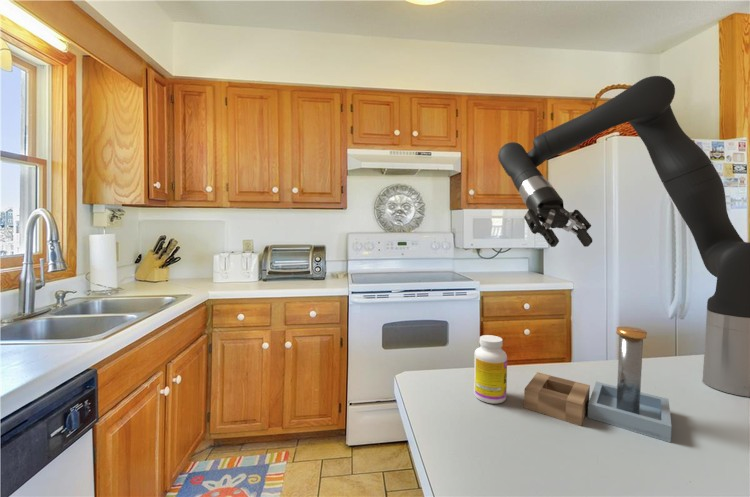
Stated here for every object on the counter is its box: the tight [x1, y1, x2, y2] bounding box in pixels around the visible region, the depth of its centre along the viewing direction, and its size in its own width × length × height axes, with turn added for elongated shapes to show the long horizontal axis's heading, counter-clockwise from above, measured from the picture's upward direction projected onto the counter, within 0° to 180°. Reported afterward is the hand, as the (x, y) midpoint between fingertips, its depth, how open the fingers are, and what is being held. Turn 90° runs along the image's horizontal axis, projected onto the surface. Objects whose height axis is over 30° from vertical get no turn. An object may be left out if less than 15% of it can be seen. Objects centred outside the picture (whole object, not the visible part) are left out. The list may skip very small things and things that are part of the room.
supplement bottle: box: [473, 334, 508, 405], centre depth 72 cm, size 7×7×13 cm
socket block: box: [523, 372, 591, 427], centre depth 69 cm, size 10×10×4 cm
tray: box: [587, 381, 672, 444], centre depth 66 cm, size 12×12×3 cm
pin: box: [616, 326, 648, 415], centre depth 65 cm, size 5×5×16 cm
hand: (572, 244), depth 76 cm, fingers open, 8 cm apart
